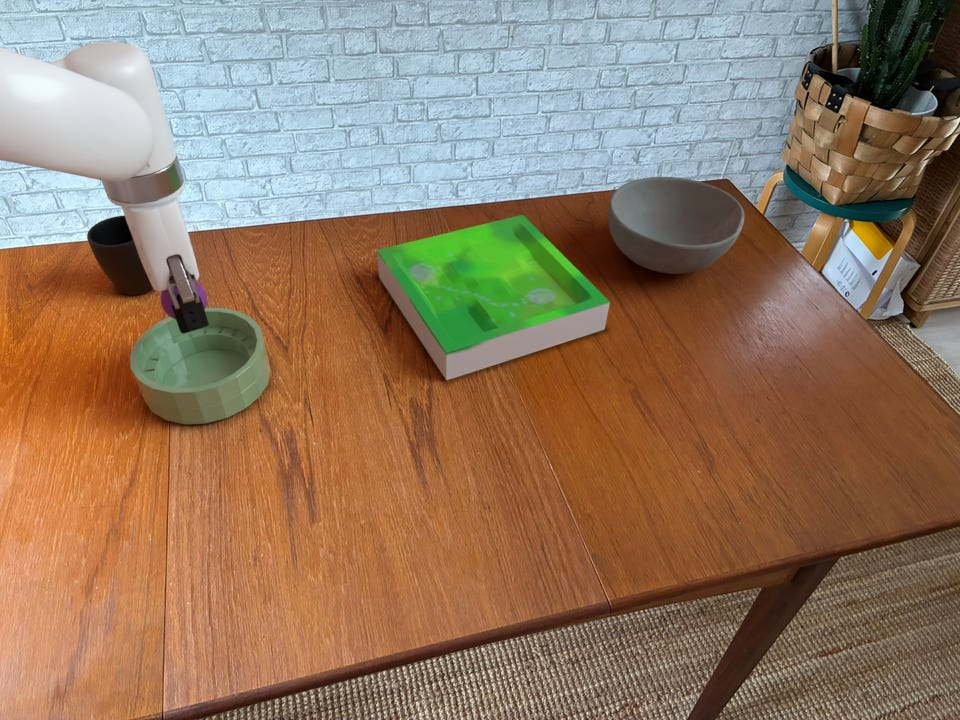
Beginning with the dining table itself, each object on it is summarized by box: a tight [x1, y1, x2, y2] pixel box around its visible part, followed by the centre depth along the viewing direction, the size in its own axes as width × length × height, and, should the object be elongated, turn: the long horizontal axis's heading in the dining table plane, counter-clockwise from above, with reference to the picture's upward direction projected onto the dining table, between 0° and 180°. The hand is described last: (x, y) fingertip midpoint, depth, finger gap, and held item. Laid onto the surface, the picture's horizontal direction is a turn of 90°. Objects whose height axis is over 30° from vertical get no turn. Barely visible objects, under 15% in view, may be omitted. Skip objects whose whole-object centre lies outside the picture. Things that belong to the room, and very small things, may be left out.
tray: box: [376, 214, 611, 381], centre depth 103 cm, size 25×25×5 cm
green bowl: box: [129, 307, 272, 425], centre depth 89 cm, size 16×16×6 cm
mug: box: [86, 215, 154, 297], centre depth 103 cm, size 8×12×10 cm
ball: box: [160, 280, 208, 319], centre depth 82 cm, size 5×5×5 cm
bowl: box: [607, 176, 745, 275], centre depth 111 cm, size 20×20×10 cm
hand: (188, 313), depth 83 cm, fingers closed on ball, 4 cm apart
